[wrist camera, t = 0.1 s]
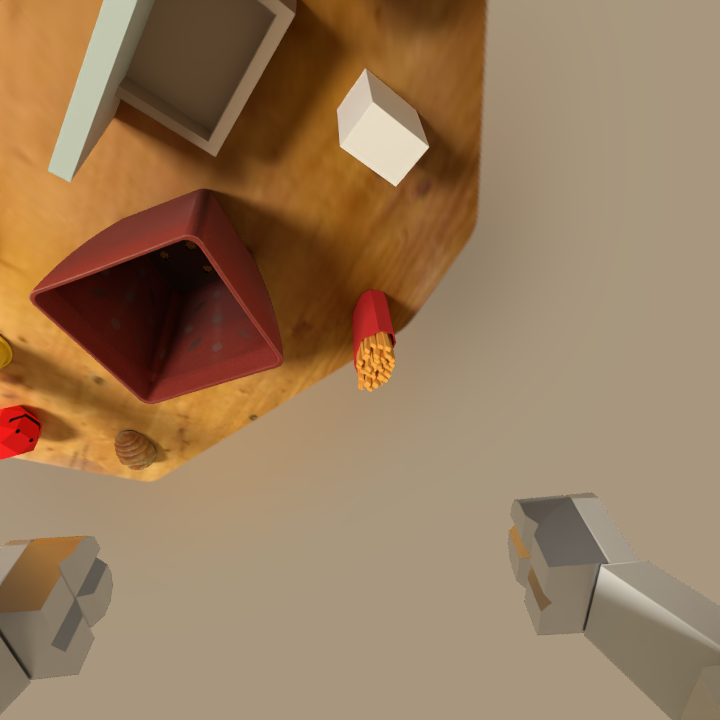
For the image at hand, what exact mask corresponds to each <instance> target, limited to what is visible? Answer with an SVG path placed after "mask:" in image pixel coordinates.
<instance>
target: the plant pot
mask: <svg viewBox="0 0 720 720" xmlns="http://www.w3.org/2000/svg"><path fill="white" fill-rule="evenodd" d="M187 241H192V242H195V243H196V244H197V249H196V250H195V251H189V250H187V249H186V248H185V243H186V242H187ZM162 251H164V252H167V253H168V254H169V255H170V257H169V259H168V260H164V259H162V258H161V257H160V256H159V253H160V252H162ZM205 265H209V266H211V267H212V268H213V271H212V272H211V273H206V272H204V271H203V266H205ZM29 299H30V301H31V302H32V304H33V305H34V306H36V307H37V308H38V309H39V310H40V311H41V312H42V313H43V314H45V315H46V316H47V317H48V318H49V319H50V320H51V321H53V322H54V323H55V324H56V325H57V326H58V327H59V328H60V329H61V330H63V331H64V332H65V333H66V334H67V335H68V336H69V337H70V338H72V339H73V340H74V341H75V342H76V343H77V344H78V345H79V346H81V347H82V348H83V349H84V350H85V351H86V352H87V353H88V354H90V355H91V356H92V357H93V358H94V359H95V360H96V361H97V362H99V363H100V364H101V365H102V366H103V367H104V368H105V369H106V370H107V371H108V372H110V373H111V374H112V375H113V376H114V377H115V378H116V379H117V380H118V381H119V382H121V383H122V384H123V385H124V386H125V387H126V388H127V389H128V390H129V391H130V392H132V393H133V394H134V395H135V396H136V397H137V398H138V399H139V400H141V401H142V402H144V403H147V404H155V403H159V402H162V401H166V400H169V399H172V398H175V397H179V396H182V395H185V394H188V393H192V392H195V391H198V390H202V389H205V388H208V387H212V386H215V385H218V384H222V383H225V382H228V381H232V380H235V379H239V378H242V377H245V376H249V375H252V374H255V373H259V372H262V371H266V370H270V369H273V368H276V367H279V366H281V365H282V364H283V362H284V359H283V350H282V344H281V338H280V333H279V329H278V324H277V321H276V317H275V313H274V310H273V306H272V303H271V300H270V297H269V294H268V291H267V289H266V286H265V284H264V281H263V279H262V276H261V274H260V271H259V269H258V267H257V265H256V263H255V261H254V259H253V258H252V256H251V254H250V253H249V251H248V249H247V248H246V246H245V245H244V243H243V241H242V240H241V238H240V237H239V235H238V233H237V232H236V230H235V229H234V227H233V225H232V224H231V222H230V220H229V219H228V217H227V215H226V214H225V212H224V211H223V209H222V207H221V206H220V204H219V203H218V201H217V199H216V198H215V196H214V195H213V193H212V192H211V191H209V190H207V189H199V190H196V191H193V192H191V193H188V194H186V195H183V196H181V197H178V198H175V199H173V200H170V201H168V202H165V203H162V204H160V205H157V206H155V207H152V208H150V209H147V210H144V211H142V212H139V213H137V214H134V215H131V216H129V217H126V218H124V219H122V220H120V221H118V222H116V223H115V224H113V225H111V226H110V227H108V228H106V229H105V230H103V231H102V232H100V233H98V234H97V235H96V236H94V237H93V238H91V239H90V240H88V241H87V242H86V243H84V244H83V245H82V246H80V247H79V248H78V249H76V250H75V251H74V252H73V253H71V254H70V255H69V256H68V257H67V258H65V259H64V260H63V261H62V262H61V263H60V264H59V265H57V266H56V267H55V268H54V269H53V270H52V271H51V272H50V273H49V274H48V275H47V276H46V277H45V278H44V279H43V280H42V281H41V282H40V283H39V284H38V285H37V286H36V287H35V288H34V290H33V291H32V292H31V293H30V295H29Z"/></svg>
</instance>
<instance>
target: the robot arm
mask: <svg viewBox="0 0 720 720" xmlns="http://www.w3.org/2000/svg"><path fill="white" fill-rule="evenodd" d="M511 517H512V519H513V521H514V524H515V525H514V526H513V527H512V528H511V530H509V538H508V547H509V556H510V561H511V564H512V569H513V572H514V575H515V577H516V580H517V581H518V582H519V583H520V584H521V585H523V586H524V587H525V588H526V594H525V604H526V607H527V610H528V612H529V615H530V617H531V620H532V623H533V625H534V628H535V631H536V633H537V635H551V634H569V633H585V634H584V635H585V637H586V638H587V639H589V640H590V641H591V642H592V643H593V644H594V645H595V646H596V647H597V648H598V649H599V650H600V651H601V652H602V653H603V654H604V655H605V656H606V657H607V658H608V659H609V660H610V661H611V662H612V663H614V665H615V666H617V667H618V668H619V669H620V670H621V671H622V672H623V673H624V674H625V675H626V676H627V677H628V678H629V679H630V680H631V681H632V682H633V683H634V684H635V685H636V686H637V687H638V688H639V689H640V690H641V691H643V692H644V693H645V694H646V695H647V696H648V697H649V698H650V699H651V700H652V701H653V702H654V703H655V704H656V705H657V706H658V707H659V708H660V709H661V710H662V711H663V712H664V713H666V715H667V716H668V717H670V718H671V719H672V720H720V606H719V605H718V604H716V603H715V602H713V601H711V600H710V599H708V598H707V597H705V596H704V595H702V594H700V593H699V592H697V591H695V590H694V589H692V588H691V587H689V586H688V585H686V584H685V583H683V582H681V581H680V580H678V579H677V578H675V577H673V576H672V575H670V574H669V573H667V572H665V571H664V570H662V569H661V568H659V567H658V566H656V565H654V564H653V563H651V562H650V561H640V560H639V559H638V557H637V556H636V554H635V553H634V551H633V550H632V548H631V547H630V545H629V544H628V542H627V541H626V539H625V538H624V536H623V535H622V533H621V532H620V530H619V529H618V527H617V526H616V524H615V523H614V521H613V520H612V518H611V517H610V515H609V513H608V512H607V510H606V509H605V508H604V506H603V504H602V503H601V501H600V500H599V498H598V497H597V496H596V495H595V494H593V493H582V494H571V495H566V496H564V495H561V496H549V497H539V498H528V499H519V500H518V499H517V500H514V501H513V504H512V508H511ZM99 550H100V547H99V545H98V544H97V541H96V540H95V538H94V537H92V536H75V537H57V538H41V539H31V540H15V541H9V542H8V543H6V544H5V545H3V546H2V547H1V548H0V715H1V714H2V712H3V711H4V710H5V709H6V708H7V707H8V706H9V705H10V704H11V703H12V702H13V701H14V700H15V699H16V698H17V697H18V696H19V695H20V693H21V692H23V690H24V689H25V688H26V687H27V686H28V685H29V684H30V683H31V681H30V680H34V679H42V678H51V677H60V676H68V675H77V674H79V672H80V670H81V667H82V665H83V663H84V661H85V659H86V656H87V654H88V652H89V649H90V647H91V645H92V643H93V641H94V635H93V632H92V629H91V627H92V626H94V624H96V623H97V622H98V621H99V620H100V619H101V618H102V617H103V616H104V615H105V613H106V611H107V608H108V606H109V603H110V601H111V594H112V588H113V582H112V574H111V571H110V569H109V567H108V565H107V564H106V563H104V562H103V561H101V560H100V559H98V558H96V556H97V554H98V552H99Z"/></svg>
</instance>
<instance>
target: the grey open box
mask: <svg viewBox="0 0 720 720" xmlns="http://www.w3.org/2000/svg"><path fill="white" fill-rule="evenodd" d="M296 4H297V0H104V1H103V4H102V7H101V10H100V13H99V16H98V19H97V22H96V25H95V28H94V31H93V34H92V37H91V40H90V43H89V46H88V49H87V52H86V55H85V58H84V61H83V64H82V67H81V70H80V73H79V77H78V80H77V83H76V86H75V89H74V92H73V95H72V98H71V101H70V104H69V107H68V110H67V113H66V116H65V119H64V122H63V125H62V128H61V131H60V134H59V137H58V140H57V143H56V146H55V149H54V152H53V155H52V158H51V161H50V164H49V167H48V170H47V171H49V172H51V173H53V174H55V175H57V176H59V177H61V178H63V179H65V180H67V181H69V182H71V180H72V179H73V177H74V176H75V174H76V173H77V171H78V170H79V168H80V167H81V165H82V164H83V163H84V161H85V160H86V158H87V157H88V155H89V154H90V152H91V151H92V149H93V148H94V146H95V145H96V143H97V142H98V140H99V139H100V137H101V136H102V134H103V133H104V131H105V130H106V128H107V127H108V126H109V124H110V123H111V121H112V120H113V118H114V116H115V114H116V111H117V109H118V106H119V104H120V101H121V99H122V100H123V101H125V102H126V103H128V104H130V105H131V106H133V107H135V108H136V109H138V110H139V111H141V112H143V113H144V114H146V115H148V116H149V117H151V118H153V119H154V120H156V121H157V122H159V123H161V124H162V125H164V126H166V127H167V128H169V129H170V130H172V131H174V132H175V133H177V134H179V135H180V136H182V137H183V138H185V139H187V140H188V141H190V142H192V143H193V144H195V145H197V146H198V147H200V148H201V149H203V150H205V151H206V152H208V153H210V154H211V155H213V156H214V157H216V155H217V153H218V152H219V150H220V148H221V146H222V144H223V143H224V141H225V139H226V137H227V135H228V134H229V132H230V130H231V128H232V127H233V125H234V123H235V121H236V119H237V118H238V116H239V114H240V112H241V111H242V109H243V107H244V105H245V103H246V102H247V100H248V98H249V96H250V94H251V93H252V91H253V89H254V87H255V86H256V84H257V82H258V80H259V78H260V77H261V75H262V73H263V71H264V69H265V68H266V66H267V64H268V62H269V61H270V59H271V57H272V55H273V53H274V52H275V50H276V48H277V46H278V45H279V43H280V41H281V39H282V37H283V36H284V34H285V32H286V30H287V28H288V27H289V25H290V23H291V21H292V20H293V18H294V16H295V14H296Z"/></svg>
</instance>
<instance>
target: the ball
mask: <svg viewBox="0 0 720 720" xmlns="http://www.w3.org/2000/svg"><path fill="white" fill-rule="evenodd" d="M41 428H42V424H41V423H40V422H39V420H38V419H37V418H36V417H35V416H33V415H32V414H31V413H29V412H28V411H26V410H25V409H24V408H22V407H21V406H14V407H9V408H4V409H0V459H5V458H9V457H12V456H16V455H20V454H23V453H26V452H30V451H33V450H34V448H35V446H36V444H37V441H38V439H39V437H40V435H41Z"/></svg>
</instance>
